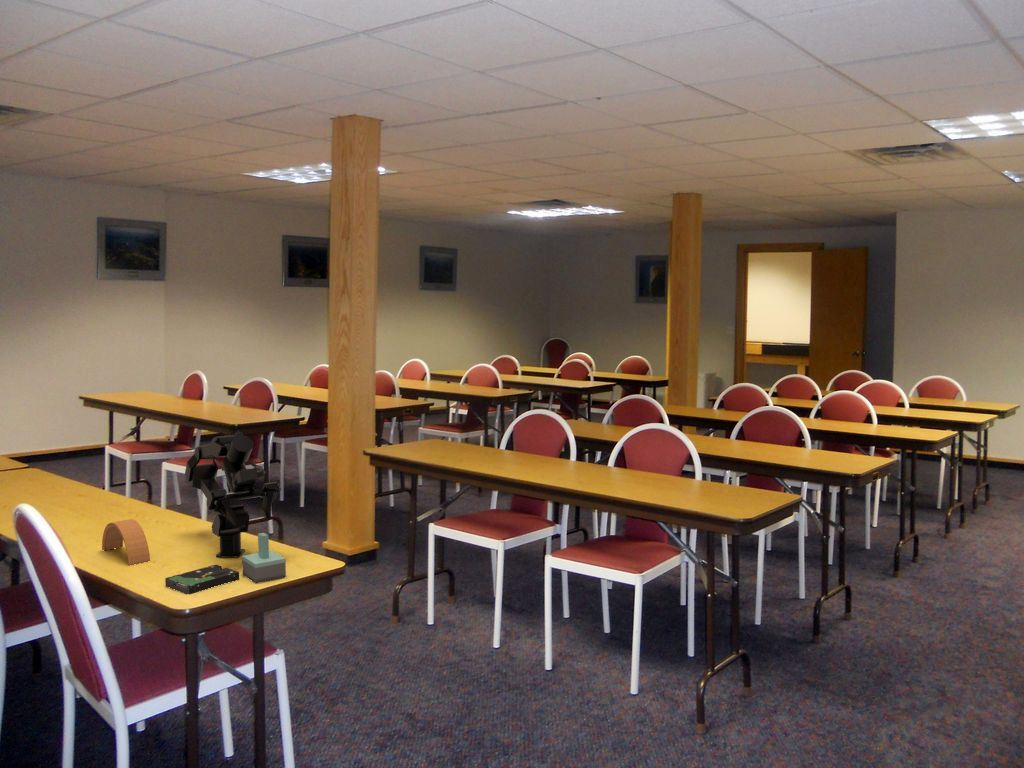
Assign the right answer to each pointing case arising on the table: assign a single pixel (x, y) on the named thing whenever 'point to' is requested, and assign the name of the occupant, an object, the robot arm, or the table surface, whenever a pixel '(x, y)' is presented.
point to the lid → (263, 554)
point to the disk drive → (201, 579)
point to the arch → (127, 540)
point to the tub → (264, 572)
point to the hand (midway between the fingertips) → (252, 521)
